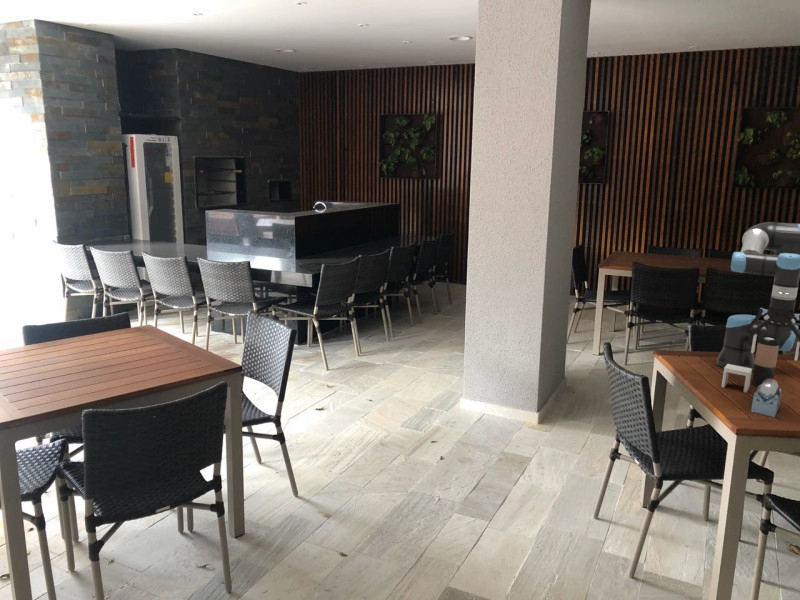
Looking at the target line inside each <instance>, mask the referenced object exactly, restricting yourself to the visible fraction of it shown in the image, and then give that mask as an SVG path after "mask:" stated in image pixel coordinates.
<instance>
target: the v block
mask: <svg viewBox="0 0 800 600" xmlns="http://www.w3.org/2000/svg"><path fill="white" fill-rule="evenodd" d="M761 385H762V384H761ZM761 385H759V386H757V390H756V391H755V392H754V393H753V397H752V403H751V410H750V412H751V413H754V412H755V413H754V414H758V413H759V415H762V414H763V415H764V416H767V417H772V418H775V417H776V415H777V412H778V410H779V408H780V407H779V406H780V402H781V396H782V389H781V388H780V387H778V389H777V391H776V393H775V395H774V397H773V398H771V399H764V398H762V397H761V396H760V395H759V389H760V387H761Z"/></svg>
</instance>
